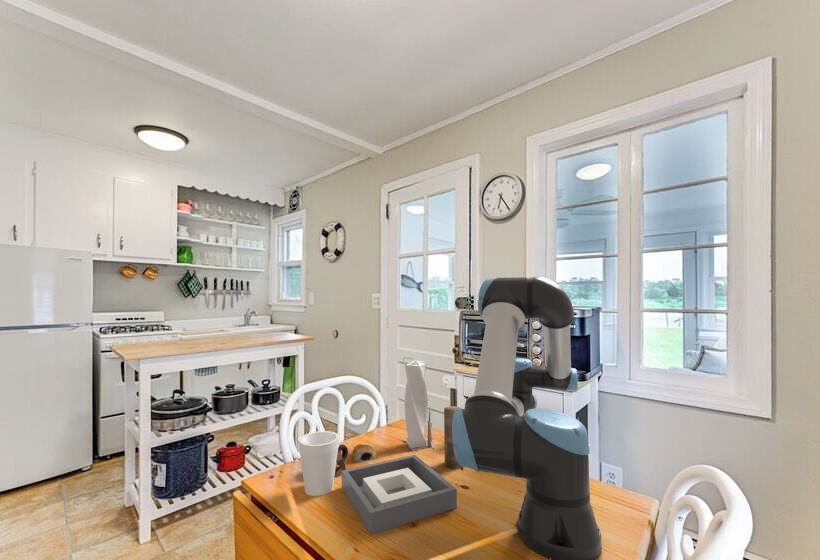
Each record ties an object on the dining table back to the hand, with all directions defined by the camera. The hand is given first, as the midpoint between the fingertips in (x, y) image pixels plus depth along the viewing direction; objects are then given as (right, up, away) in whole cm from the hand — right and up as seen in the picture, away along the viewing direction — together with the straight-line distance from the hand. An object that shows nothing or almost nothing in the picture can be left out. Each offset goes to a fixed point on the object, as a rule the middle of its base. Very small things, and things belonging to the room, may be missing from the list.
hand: (471, 426), depth 109 cm
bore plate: (-21, -7, -23) cm, 32 cm away
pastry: (-32, -10, 0) cm, 33 cm away
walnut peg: (-6, -9, -7) cm, 13 cm away
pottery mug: (-39, -9, -9) cm, 41 cm away
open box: (-21, -8, -23) cm, 32 cm away
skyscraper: (-16, -10, +8) cm, 20 cm away
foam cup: (-40, -9, -19) cm, 45 cm away
